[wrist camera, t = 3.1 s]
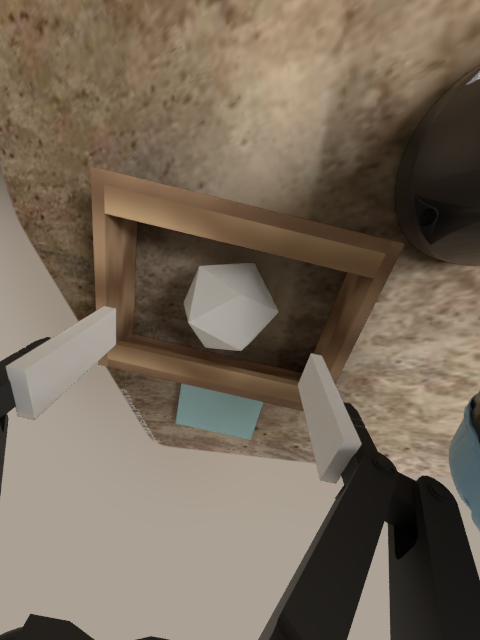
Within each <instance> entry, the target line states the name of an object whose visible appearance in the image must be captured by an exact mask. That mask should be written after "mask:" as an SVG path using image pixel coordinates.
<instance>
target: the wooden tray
mask: <svg viewBox="0 0 480 640" xmlns="http://www.w3.org/2000/svg"><path fill="white" fill-rule="evenodd" d="M90 170H91V195H92V220H93V245H94V270H95V295H96V311H97V310H99V309H100V308H102V307H104V306H106V307H111V308H115V309H116V345H115V346H114V347H113V348H112V349H111V350H109V351H108V352H107V353H106V354H105V355H104V356H103V357H102V358H101V359H100V360H99V361H98V365H103V366H107V367H112V368H116V369H120V370H125V371H129V372H134V373H138V374H142V375H147V376H151V377H156V378H160V379H164V380H169V381H173V382H178V383H182V384H186V385H191V386H195V387H199V388H204V389H208V390H213V391H217V392H221V393H226V394H230V395H235V396H239V397H243V398H248V399H252V400H257V401H261V402H265V403H270V404H274V405H279V406H283V407H287V408H292V409H296V410H301V411H304V410H303V405H302V401H301V397H300V393H299V388H298V383H299V381H300V378H301V376H302V373H300V372H295V371H291V370H287V369H282V368H278V367H274V366H269V365H265V364H261V363H256V362H252V361H248V360H243V359H239V358H235V357H230V356H226V355H222V354H218V353H213V352H209V351H205V350H200V349H196V348H192V347H187V346H183V345H179V344H174V343H170V342H166V341H161V340H157V339H153V338H148V337H144V336H140V335H135V334H133V331H134V301H135V272H136V243H137V221H138V222H142V223H146V224H150V225H154V226H158V227H163V228H167V229H171V230H175V231H179V232H183V233H187V234H192V235H196V236H200V237H204V238H208V239H212V240H216V241H220V242H225V243H229V244H233V245H237V246H241V247H245V248H249V249H253V250H258V251H262V252H266V253H270V254H274V255H278V256H282V257H287V258H291V259H295V260H299V261H303V262H307V263H311V264H315V265H320V266H324V267H328V268H332V269H336V270H340V271H344V272H347V274H346V277H345V279H344V281H343V284H342V286H341V289H340V291H339V293H338V296H337V298H336V301H335V303H334V305H333V308H332V310H331V312H330V315H329V317H328V320H327V322H326V324H325V327H324V329H323V332H322V334H321V336H320V339H319V341H318V343H317V346H316V348H315V351H314V353H313V354H316V355H321V356H322V357H323V359H324V361H325V364H326V366H327V368H328V370H329V372H330V375H331V377H332V379H333V381H334V384H335V383H336V381H337V379H338V377H339V375H340V373H341V371H342V369H343V367H344V365H345V363H346V361H347V359H348V357H349V355H350V353H351V351H352V349H353V347H354V345H355V343H356V341H357V339H358V337H359V335H360V333H361V331H362V329H363V327H364V325H365V323H366V321H367V319H368V317H369V315H370V313H371V311H372V309H373V307H374V305H375V303H376V301H377V299H378V297H379V295H380V293H381V291H382V289H383V287H384V285H385V283H386V281H387V279H388V277H389V275H390V273H391V271H392V269H393V267H394V265H395V263H396V261H397V259H398V257H399V255H400V253H401V251H402V249H403V247H404V245H405V244H404V243H400V242H396V241H392V240H388V239H384V238H380V237H376V236H371V235H367V234H363V233H359V232H355V231H351V230H347V229H343V228H339V227H335V226H331V225H327V224H323V223H319V222H315V221H311V220H306V219H302V218H298V217H294V216H290V215H286V214H282V213H278V212H274V211H270V210H266V209H262V208H258V207H254V206H250V205H246V204H241V203H237V202H233V201H229V200H225V199H221V198H217V197H213V196H209V195H205V194H201V193H197V192H193V191H189V190H185V189H181V188H176V187H172V186H168V185H164V184H160V183H156V182H152V181H148V180H144V179H140V178H136V177H132V176H128V175H124V174H120V173H116V172H111V171H107V170H103V169H99V168H95V167H91V166H90Z"/></svg>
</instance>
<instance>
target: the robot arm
mask: <svg viewBox="0 0 480 640" xmlns="http://www.w3.org/2000/svg"><path fill="white" fill-rule="evenodd" d="M395 204H396V212H397V217H398V220H399V223H400V226H401V228H402V230H403V232H404V234H405V235H406V237H407V238H408V240H409V241H410V242H411V243H412V244H413V245H414V246H415V247H416V248H417V249H418V250H420V251H421V252H423V253H424V254H426V255H428V256H430V257H433V258H435V259H439V260H443V261H447V262H450V263H454V264H459V265H467V266H480V66H478V67H477V68H475V69H474V70H472V71H471V72H469V73H468V74H466V75H465V76H464V77H462V78H461V79H460V80H459V81H457V82H456V83H455V84H454V85H453V86H452V87H450V88H449V89H448V90H447V91H446V92H445V93H444V94H443V95H442V96H441V97H440V98H439V99H438V101H437V102H436V103H435V104H434V105H433V106H432V107H431V109H430V110H429V111H428V113H427V114H426V115H425V117H424V118H423V119H422V121H421V122H420V124H419V125H418V127H417V129H416V130H415V132H414V134H413V136H412V137H411V139H410V141H409V143H408V145H407V148H406V150H405V152H404V155H403V158H402V161H401V164H400V167H399V171H398V175H397V180H396V189H395ZM115 345H116V309H115V308H111V307H106V306H104V307H102V308H100V309H99V310H97V311H95V312H94V313H92V314H90V315H89V316H87V317H86V318H84V319H82V320H81V321H79V322H77V323H76V324H74V325H72V326H71V327H69V328H68V329H66V330H64V331H63V332H61V333H59V334H58V335H56V336H54V337H53V338H49V337H46V338H44V339H40V340H38V341H35V342H33V343H31V344H30V345H28V346H26V348H23V349H21V350H19V351H18V352H16V353H14V354H12V355H11V356H9V357H7V358H6V359H4V360H2V361H0V494H1V483H2V475H3V465H4V455H5V446H6V437H7V428H8V415H7V413H8V412H9V411H10V410H12V409H13V408H14V407H16V411H17V416H18V417H23V418H28V419H33V420H35V419H37V418H38V417H39V416H40V415H41V414H42V413H43V412H44V411H45V410H46V409H47V408H48V407H49V406H51V405H52V404H53V403H54V402H55V401H56V400H57V399H58V398H59V397H60V396H61V395H62V394H63V393H64V392H66V391H67V390H68V389H69V388H70V387H71V386H72V385H73V384H74V383H75V382H76V381H77V380H78V379H79V378H80V377H82V376H83V375H84V374H85V373H86V372H87V371H88V370H89V369H90V368H91V367H92V366H93V365H94V364H95V363H96V362H98V361H99V360H100V359H101V358H102V357H103V356H104V355H105V354H106V353H107V352H108V351H109V350H111V349H112V348H113V347H114V346H115ZM298 388H299V393H300V397H301V401H302V405H303V410H304V414H305V418H306V422H307V427H308V431H309V435H310V439H311V444H312V448H313V452H314V456H315V461H316V465H317V469H318V473H319V478H320V480H321V481H326V482H331V483H337V481H338V480H339V478H340V477H341V476H342V479H343V482H344V486H343V487H342V489H341V490H340V492H339V493H338V495H337V496H336V498H335V499H336V500H335V502H334V503H333V505H332V507H331V509H330V511H329V513H328V514H327V516H326V518H325V520H324V522H323V523H322V525H321V527H320V529H319V531H318V532H317V534H316V536H315V538H314V540H313V541H312V543H311V545H310V547H309V549H308V550H307V552H306V554H305V556H304V558H303V560H302V561H301V563H300V565H299V567H298V569H297V570H296V572H295V574H294V576H293V578H292V579H291V581H290V583H289V585H288V587H287V588H286V591H285V592H284V594H283V596H282V598H281V599H280V601H279V603H278V605H277V607H276V608H275V610H274V612H273V614H272V616H271V618H270V619H269V621H268V623H267V625H266V626H265V628H264V630H263V632H262V634H261V636H260V637H259V639H258V640H347V637H348V634H349V631H350V628H351V625H352V622H353V618H354V615H355V612H356V609H357V606H358V603H359V600H360V596H361V593H362V590H363V587H364V583H365V580H366V577H367V574H368V571H369V568H370V565H371V562H372V558H373V555H374V552H375V549H376V546H377V543H378V540H379V536H380V533H381V530H382V527H383V524H384V521H385V522H387V523H388V546H389V590H390V634H391V640H480V580H479V576H478V573H477V569H476V566H475V563H474V559H473V556H472V552H471V549H470V545H469V542H468V538H467V535H466V532H465V528H464V525H463V521H462V518H461V515H460V511H459V508H458V504H457V502H456V500H455V498H454V496H453V495H452V494H451V493H450V491H449V490H448V489H447V488H446V487H445V486H444V485H442V484H441V483H440V482H438V481H437V480H435V479H434V478H431V477H429V476H421V477H420V478H419V479H418V480H417V481H415V480H413V479H411V478H409V477H407V476H405V475H403V474H401V473H399V472H397V469H396V467H395V466H394V465H393V463H392V462H391V461H390V460H389V459H388V458H387V457H386V456H384V455H383V454H381V453H379V452H378V451H377V449H376V447H375V445H374V443H373V441H372V439H371V437H370V435H369V433H368V431H367V429H366V428H365V425H364V423H363V421H362V419H361V417H360V415H359V413H358V412H357V410H356V409H355V408H354V407H353V406H352V405H351V404H349V403H345V402H343V401H342V399H341V397H340V395H339V392H338V390H337V388H336V386H335V384H334V381H333V379H332V377H331V375H330V372H329V370H328V368H327V366H326V364H325V361H324V359H323V357H322V356H321V355H316V354H312V353H311V354H310V357H309V359H308V361H307V364H306V366H305V369H304V371H303V373H302V376H301V378H300V381H299V383H298ZM449 465H450V471H451V475H452V478H453V481H454V484H455V486H456V489H457V491H458V493H459V495H460V497H461V499H462V500H463V501H464V503H465V504H466V505H467V506H468V507H469V509H470V510H471V514H472V520H473V522H474V523H475V525H476V526H477V528H478V530H479V531H480V391H479V393H478V394H476V395H475V396H474V397H472V398H471V399H470V401H469V404H468V405H467V406H466V407H465V411H464V419H463V420H462V422H461V424H460V426H459V428H458V429H457V431H456V433H455V435H454V437H453V439H452V441H451V444H450V448H449ZM0 640H94V639H93V638H91V637H90V636H89V635H87V634H86V633H85V632H83V631H82V630H81V629H79V628H78V627H77V626H75V625H74V624H73V623H71V622H70V621H66V620H60V619H55V618H49V617H44V616H38V615H33V614H30V616H29V617H28V619H27V621H26V623H25V624H24V626H23V627H20V628H17V629H14V630H11V631H8V632H6V633H4V634H2V635H0ZM137 640H168V639H163V638H157V637H152V636H151V637H146V638H142V639H137Z"/></svg>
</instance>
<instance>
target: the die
mask: <svg viewBox="0 0 480 640" xmlns="http://www.w3.org/2000/svg"><path fill="white" fill-rule="evenodd" d="M184 307H185V311H186V315H187V319H188V323H189V324H190V326H191V327H192V329H193V330H194V332H195V333H196V335H197V336H198V338H199V339H200V341H201V342H202V344H203V345H204V346H205V348H215V349H225V350H236V351H242V350H243V349H244V348H245V347H246V346H247V345H248V344H249V343H251V342H252V341H253V340H254V339H255V338H256V336H257V335H258V334H259V333H260V332H261V331H262V330H263V329H264V328H265V327H266V326H267V324H268V323H269V322H270V321H271V320H272V319H273V318H274V317H275V316H276V315H277V313H278V312H279V311H278V309H277V307H276V305H275V303H274V301H273V299H272V297H271V295H270V293H269V291H268V289H267V287H266V285H265V283H264V281H263V279H262V277H261V275H260V273H259V271H258V269H257V267H256V265H255V263H240V264H223V265H206V266H199V268H198V271H197V273H196V275H195V277H194V280H193V282H192V284H191V287H190V289H189V291H188V294H187V296H186V298H185V300H184Z"/></svg>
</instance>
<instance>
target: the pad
mask: <svg viewBox="0 0 480 640" xmlns="http://www.w3.org/2000/svg"><path fill="white" fill-rule="evenodd" d="M263 403H264V402H261V401H257V400H252V399H248V398H243V397H239V396H235V395H230V394H226V393H221V392H217V391H213V390H208V389H204V388H199V387H195V386H191V385H186V384H182V383H181V390H180V397H179V404H178V410H177V417H176V424H180V425H185V426H189V427H194V428H198V429H203V430H207V431H211V432H216V433H220V434H225V435H229V436H234V437H238V438H243V439H247V440H251V437H252V434H253V431H254V429H255V426H256V423H257V420H258V417H259V414H260V411H261V409H262V406H263Z"/></svg>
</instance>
